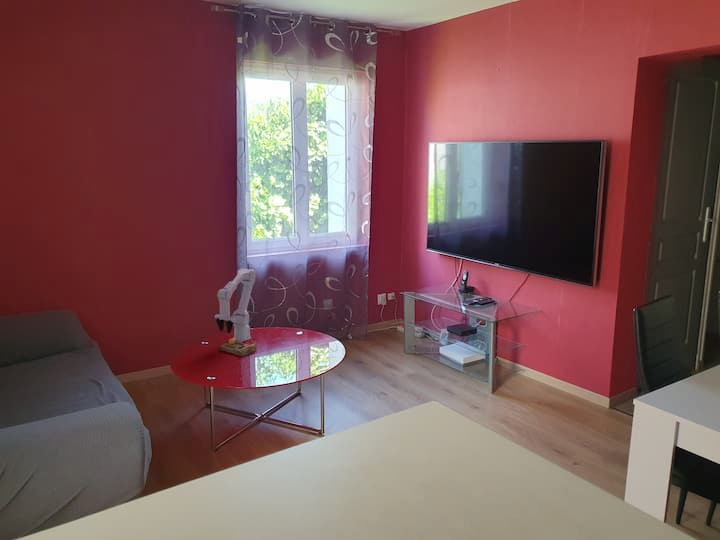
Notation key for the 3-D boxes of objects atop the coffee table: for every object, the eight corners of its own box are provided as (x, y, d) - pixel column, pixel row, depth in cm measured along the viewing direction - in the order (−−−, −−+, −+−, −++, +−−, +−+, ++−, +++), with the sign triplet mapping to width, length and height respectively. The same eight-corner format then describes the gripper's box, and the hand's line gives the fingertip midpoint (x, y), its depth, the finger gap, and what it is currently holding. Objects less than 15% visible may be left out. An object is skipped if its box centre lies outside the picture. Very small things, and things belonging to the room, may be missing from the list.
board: (233, 344, 336) (233, 337, 335) (256, 350, 327) (256, 343, 326) (220, 350, 327) (219, 342, 326) (243, 356, 318) (242, 348, 317)
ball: (231, 343, 331) (231, 337, 331) (236, 344, 330) (236, 338, 329) (227, 344, 328) (227, 339, 328) (231, 346, 327) (231, 340, 326)
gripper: (210, 309, 328) (211, 331, 331) (228, 313, 320) (229, 335, 323) (219, 306, 334) (220, 328, 336) (237, 310, 326) (238, 332, 329)
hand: (225, 331), depth 330 cm, fingers open, 5 cm apart
